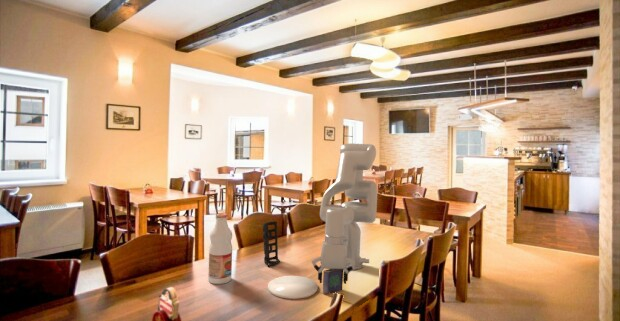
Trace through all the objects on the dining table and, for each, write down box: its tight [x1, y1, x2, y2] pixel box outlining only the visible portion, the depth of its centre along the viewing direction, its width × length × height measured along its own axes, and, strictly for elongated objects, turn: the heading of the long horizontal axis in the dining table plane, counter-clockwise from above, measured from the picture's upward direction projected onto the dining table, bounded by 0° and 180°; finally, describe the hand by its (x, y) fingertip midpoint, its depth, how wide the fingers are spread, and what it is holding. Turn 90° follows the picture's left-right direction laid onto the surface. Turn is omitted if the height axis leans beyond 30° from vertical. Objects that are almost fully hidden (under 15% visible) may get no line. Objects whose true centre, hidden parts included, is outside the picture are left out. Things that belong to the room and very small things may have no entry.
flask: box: [322, 269, 344, 295], centre depth 131 cm, size 9×3×11 cm, turn 121°
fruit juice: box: [208, 212, 233, 285], centre depth 138 cm, size 9×9×28 cm
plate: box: [267, 275, 318, 300], centre depth 133 cm, size 20×20×1 cm
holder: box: [262, 221, 281, 268], centre depth 160 cm, size 11×8×20 cm
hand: (332, 282), depth 131 cm, fingers open, 9 cm apart
